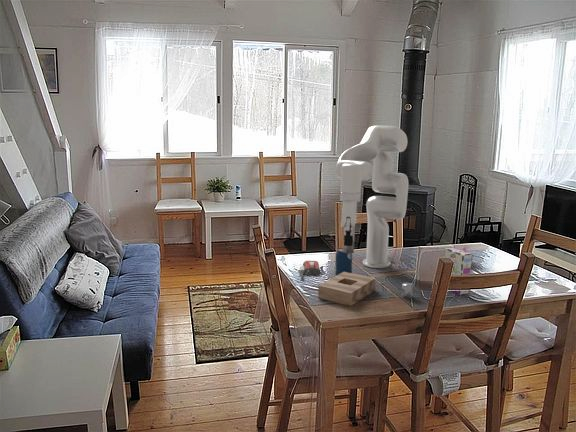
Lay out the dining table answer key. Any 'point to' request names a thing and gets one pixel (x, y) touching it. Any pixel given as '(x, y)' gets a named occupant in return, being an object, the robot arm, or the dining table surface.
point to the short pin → (407, 290)
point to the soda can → (343, 262)
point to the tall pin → (349, 248)
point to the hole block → (346, 288)
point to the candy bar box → (460, 263)
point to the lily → (465, 248)
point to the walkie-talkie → (309, 268)
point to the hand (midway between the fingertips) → (348, 243)
